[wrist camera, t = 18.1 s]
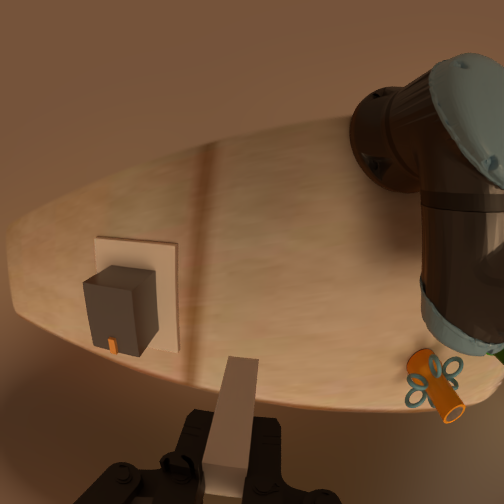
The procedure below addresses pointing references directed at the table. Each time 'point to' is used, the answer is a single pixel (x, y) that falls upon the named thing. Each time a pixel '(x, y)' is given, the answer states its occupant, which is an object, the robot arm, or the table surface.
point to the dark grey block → (122, 309)
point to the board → (166, 268)
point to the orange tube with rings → (435, 384)
